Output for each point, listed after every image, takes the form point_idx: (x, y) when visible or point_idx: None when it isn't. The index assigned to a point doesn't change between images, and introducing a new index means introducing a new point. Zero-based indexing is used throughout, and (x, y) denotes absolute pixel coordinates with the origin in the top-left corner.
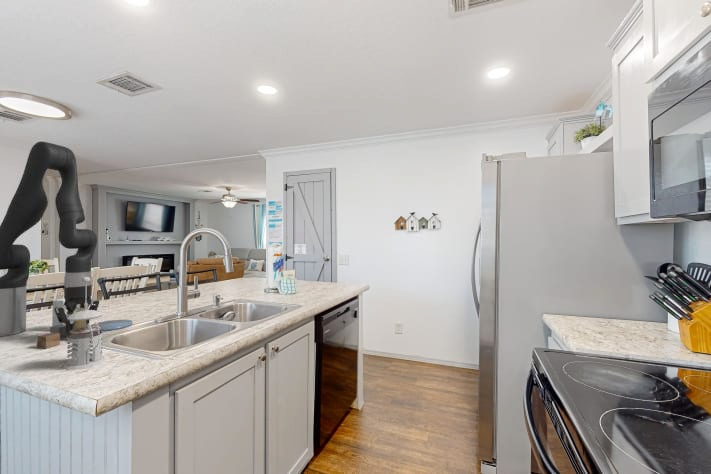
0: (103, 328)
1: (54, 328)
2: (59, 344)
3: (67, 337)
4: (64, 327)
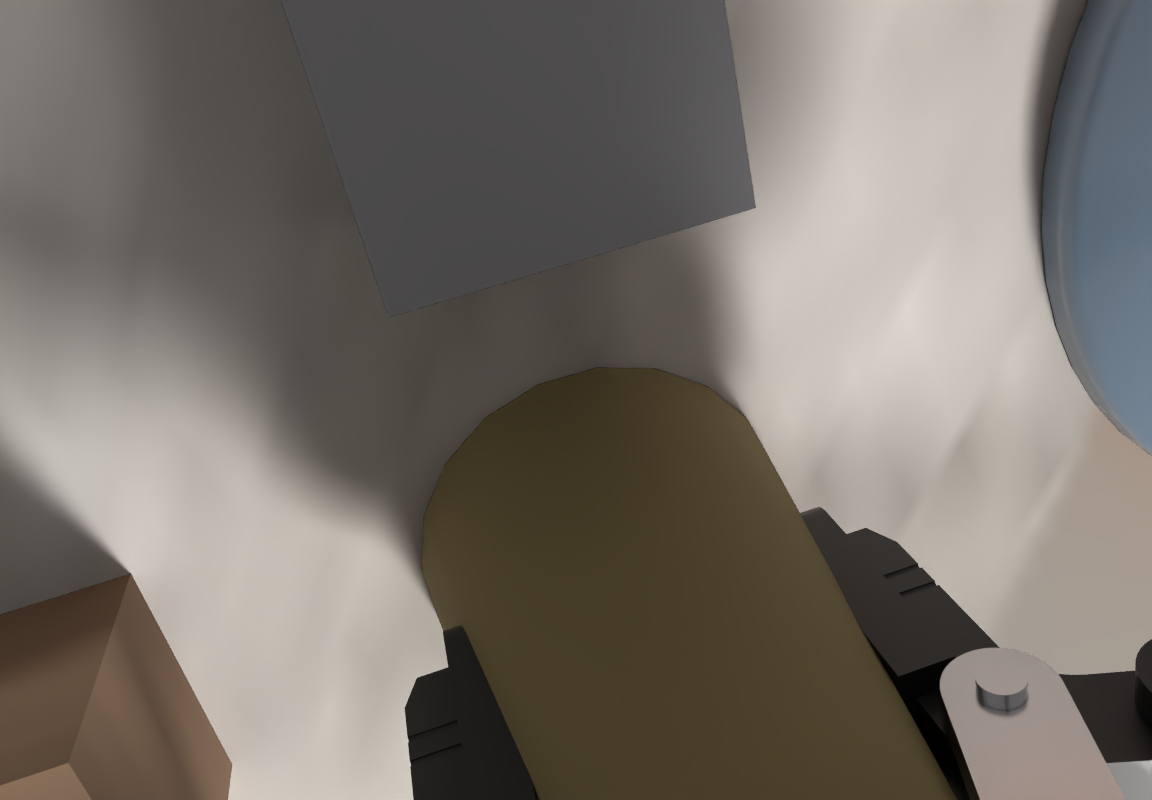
0: (1147, 404)
1: (318, 100)
2: (222, 778)
3: (436, 579)
4: (547, 259)
